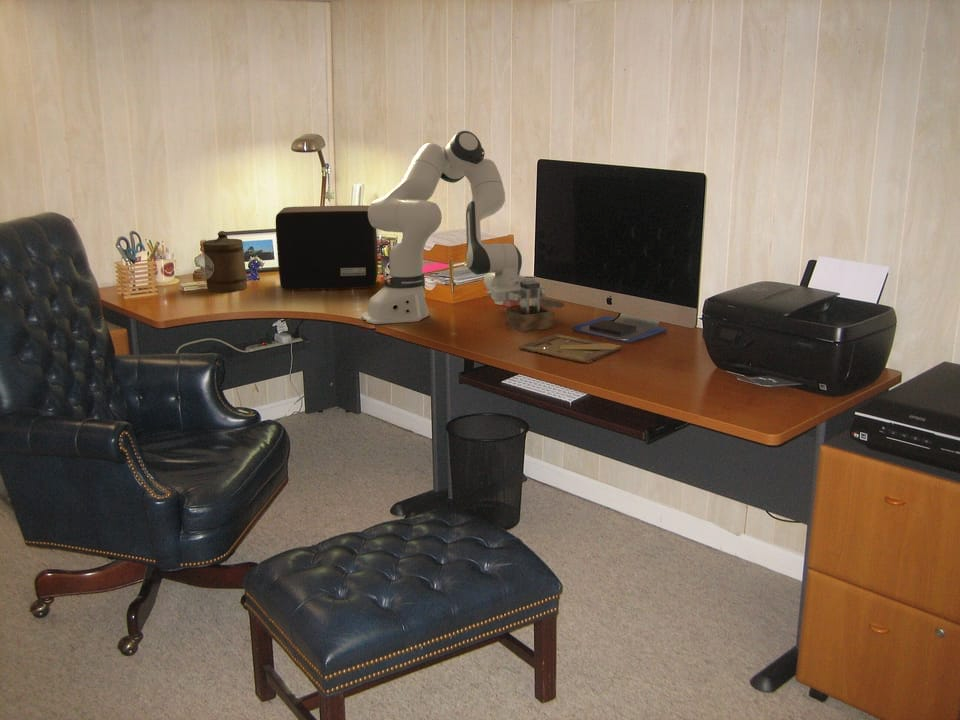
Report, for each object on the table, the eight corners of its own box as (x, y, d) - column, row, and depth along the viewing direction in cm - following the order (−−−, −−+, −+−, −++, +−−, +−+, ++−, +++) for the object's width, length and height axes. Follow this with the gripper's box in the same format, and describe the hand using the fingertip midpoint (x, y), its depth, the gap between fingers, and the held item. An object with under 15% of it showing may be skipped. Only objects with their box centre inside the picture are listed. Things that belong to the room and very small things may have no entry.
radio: (378, 280, 374) (375, 204, 366) (376, 290, 357) (373, 210, 349) (286, 282, 372) (281, 206, 363) (280, 292, 355) (274, 212, 346)
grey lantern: (526, 324, 300) (526, 284, 296) (520, 321, 304) (519, 281, 300) (540, 322, 302) (540, 282, 298) (533, 319, 306) (533, 280, 302)
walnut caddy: (522, 331, 296) (522, 316, 295) (506, 323, 306) (506, 308, 305) (554, 327, 300) (554, 312, 299) (538, 319, 310) (538, 304, 309)
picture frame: (621, 351, 276) (555, 338, 291) (621, 345, 275) (555, 332, 290) (585, 366, 262) (518, 351, 277) (585, 360, 262) (518, 345, 277)
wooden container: (209, 285, 369) (203, 229, 362) (248, 283, 371) (243, 227, 365) (205, 293, 355) (199, 235, 348) (246, 291, 357) (241, 233, 351)
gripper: (483, 281, 307) (501, 290, 295) (540, 276, 315) (559, 284, 303) (484, 300, 309) (501, 309, 297) (539, 294, 317) (559, 303, 304)
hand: (531, 296), depth 300 cm, fingers open, 8 cm apart
